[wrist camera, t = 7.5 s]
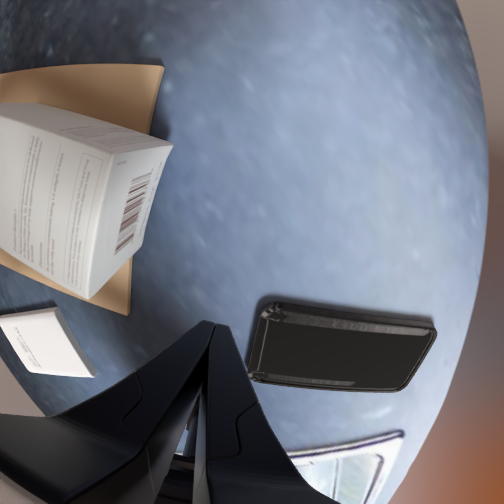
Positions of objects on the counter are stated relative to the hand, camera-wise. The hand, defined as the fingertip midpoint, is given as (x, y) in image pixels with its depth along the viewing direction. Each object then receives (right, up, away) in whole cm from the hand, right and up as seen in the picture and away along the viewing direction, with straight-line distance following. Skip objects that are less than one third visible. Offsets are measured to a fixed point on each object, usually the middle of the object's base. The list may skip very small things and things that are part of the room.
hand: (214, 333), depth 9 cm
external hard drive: (-22, -7, +17) cm, 28 cm away
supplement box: (-5, +4, +5) cm, 8 cm away
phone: (+9, -5, +14) cm, 17 cm away
